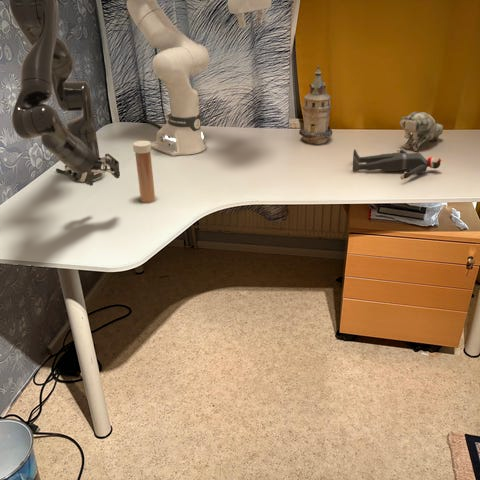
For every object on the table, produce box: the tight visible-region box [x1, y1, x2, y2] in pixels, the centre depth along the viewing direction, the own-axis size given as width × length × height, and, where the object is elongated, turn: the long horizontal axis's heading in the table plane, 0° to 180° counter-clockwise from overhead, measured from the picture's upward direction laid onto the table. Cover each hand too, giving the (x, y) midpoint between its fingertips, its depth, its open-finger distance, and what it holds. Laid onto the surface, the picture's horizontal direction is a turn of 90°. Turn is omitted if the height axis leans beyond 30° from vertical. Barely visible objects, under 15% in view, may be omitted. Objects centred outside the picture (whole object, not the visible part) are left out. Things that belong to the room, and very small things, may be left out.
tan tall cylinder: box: [134, 151, 156, 204], centre depth 168 cm, size 5×5×18 cm
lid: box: [132, 140, 152, 154], centre depth 164 cm, size 5×5×2 cm
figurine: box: [399, 111, 444, 152], centre depth 210 cm, size 10×19×20 cm
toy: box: [352, 148, 442, 180], centre depth 190 cm, size 26×6×30 cm
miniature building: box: [298, 65, 333, 145], centre depth 213 cm, size 13×14×30 cm
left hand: (104, 179), depth 156 cm, fingers open, 8 cm apart
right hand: (250, 25), depth 175 cm, fingers open, 8 cm apart
